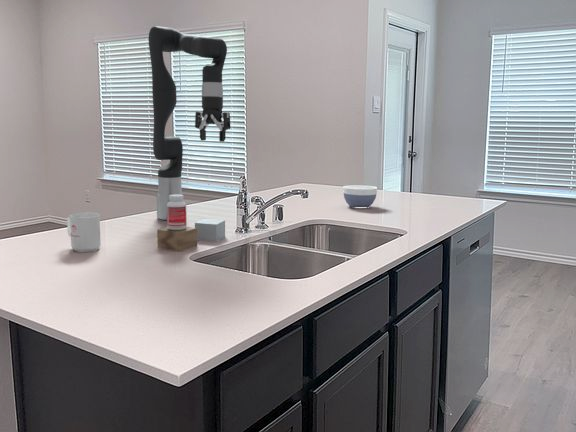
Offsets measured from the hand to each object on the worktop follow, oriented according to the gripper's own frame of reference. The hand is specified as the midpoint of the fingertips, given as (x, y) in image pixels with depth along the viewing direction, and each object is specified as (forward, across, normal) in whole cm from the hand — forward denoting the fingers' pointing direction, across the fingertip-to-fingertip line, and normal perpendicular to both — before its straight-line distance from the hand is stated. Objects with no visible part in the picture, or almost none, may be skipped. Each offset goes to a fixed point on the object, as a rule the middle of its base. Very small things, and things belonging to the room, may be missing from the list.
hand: (212, 140), depth 213 cm
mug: (+33, -16, -47) cm, 60 cm away
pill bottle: (+27, +7, -28) cm, 40 cm away
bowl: (+33, +24, +81) cm, 91 cm away
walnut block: (+33, +7, -28) cm, 44 cm away
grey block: (+33, +8, -12) cm, 36 cm away
